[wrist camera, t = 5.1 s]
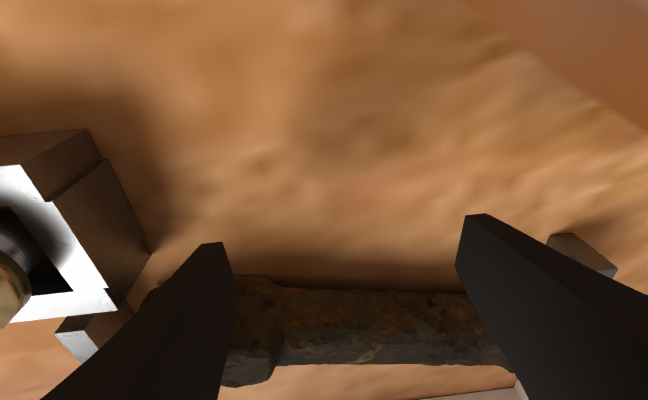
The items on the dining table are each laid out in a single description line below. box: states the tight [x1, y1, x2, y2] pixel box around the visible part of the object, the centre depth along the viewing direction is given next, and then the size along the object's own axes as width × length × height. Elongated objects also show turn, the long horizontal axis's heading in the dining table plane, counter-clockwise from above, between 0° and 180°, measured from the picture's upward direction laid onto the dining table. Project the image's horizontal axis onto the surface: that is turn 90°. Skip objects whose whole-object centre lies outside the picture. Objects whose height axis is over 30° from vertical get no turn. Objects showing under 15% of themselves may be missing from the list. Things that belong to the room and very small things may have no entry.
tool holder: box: [0, 129, 618, 364], centre depth 13 cm, size 14×27×3 cm, turn 94°
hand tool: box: [139, 275, 514, 388], centre depth 14 cm, size 19×4×5 cm, turn 79°
